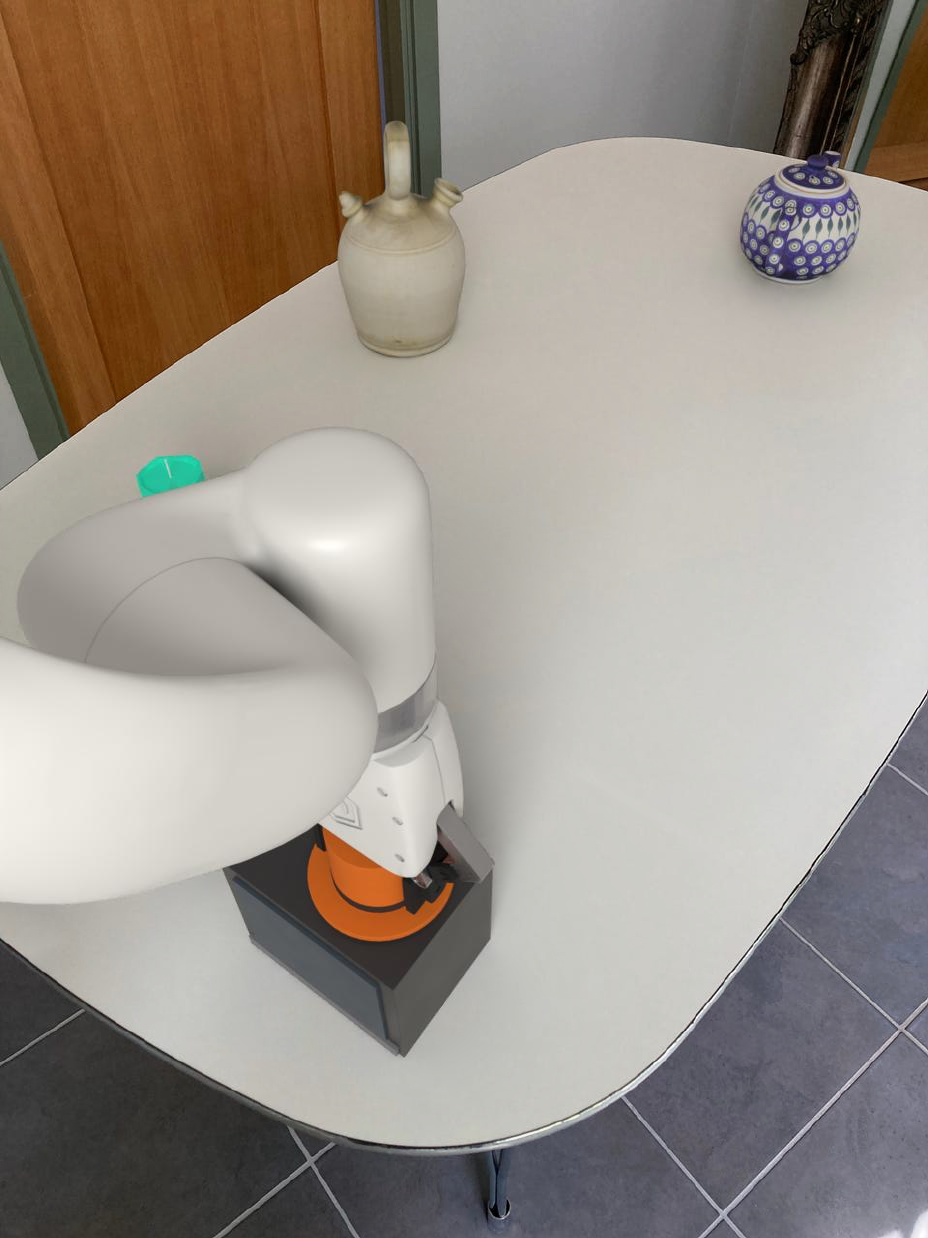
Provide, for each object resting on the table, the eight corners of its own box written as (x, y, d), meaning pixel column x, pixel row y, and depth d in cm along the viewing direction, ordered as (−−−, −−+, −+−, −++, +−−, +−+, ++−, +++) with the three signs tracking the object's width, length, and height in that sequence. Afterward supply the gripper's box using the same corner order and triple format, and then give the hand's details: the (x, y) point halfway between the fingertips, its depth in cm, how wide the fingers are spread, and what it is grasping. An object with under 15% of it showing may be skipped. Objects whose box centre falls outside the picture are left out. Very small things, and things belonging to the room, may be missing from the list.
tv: (401, 1062, 63) (389, 995, 54) (247, 941, 68) (213, 862, 59) (490, 938, 68) (493, 859, 59) (341, 836, 74) (323, 749, 65)
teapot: (811, 324, 121) (845, 209, 110) (701, 292, 127) (723, 179, 116) (869, 242, 135) (904, 133, 124) (768, 216, 141) (793, 109, 130)
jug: (474, 302, 125) (474, 98, 107) (456, 370, 115) (453, 157, 96) (360, 294, 127) (340, 92, 108) (332, 360, 117) (305, 149, 98)
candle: (237, 545, 95) (212, 449, 86) (202, 584, 92) (172, 489, 83) (187, 528, 97) (158, 432, 88) (151, 566, 93) (117, 470, 84)
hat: (393, 972, 54) (387, 927, 50) (277, 886, 58) (262, 836, 53) (484, 855, 59) (485, 805, 55) (372, 782, 63) (365, 729, 58)
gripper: (167, 644, 46) (234, 833, 59) (458, 833, 39) (460, 997, 52) (275, 555, 50) (315, 750, 63) (556, 712, 43) (534, 893, 56)
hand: (380, 861), depth 58 cm, fingers closed on hat, 6 cm apart
